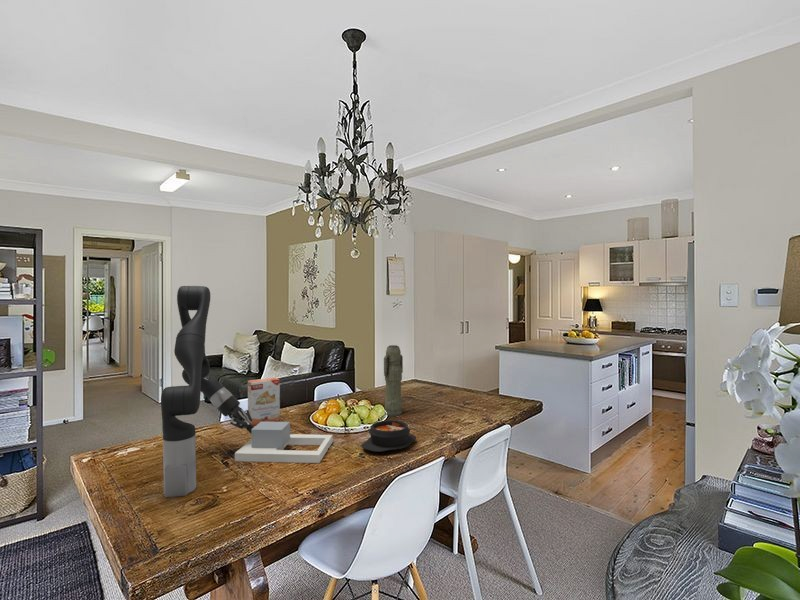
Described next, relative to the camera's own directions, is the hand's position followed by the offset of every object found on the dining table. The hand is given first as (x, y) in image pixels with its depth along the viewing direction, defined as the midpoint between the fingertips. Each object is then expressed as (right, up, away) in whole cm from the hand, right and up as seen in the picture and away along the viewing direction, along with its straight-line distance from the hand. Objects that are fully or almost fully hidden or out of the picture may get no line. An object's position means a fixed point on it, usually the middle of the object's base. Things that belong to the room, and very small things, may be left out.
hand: (255, 432), depth 170 cm
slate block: (+7, -4, 0) cm, 8 cm away
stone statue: (+54, -6, +51) cm, 75 cm away
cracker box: (-8, -7, +36) cm, 38 cm away
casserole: (+53, -7, +5) cm, 54 cm away
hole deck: (+13, -7, -1) cm, 15 cm away
